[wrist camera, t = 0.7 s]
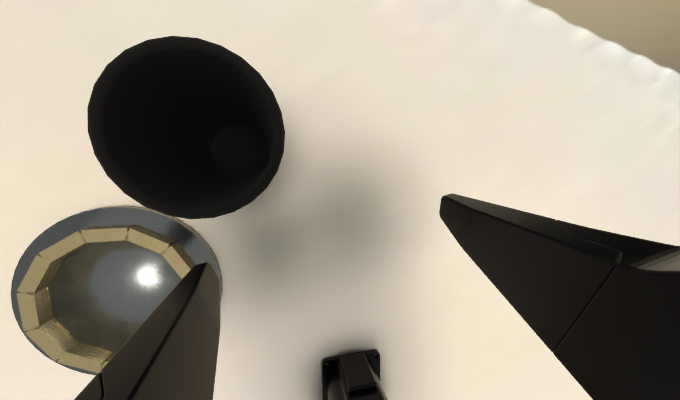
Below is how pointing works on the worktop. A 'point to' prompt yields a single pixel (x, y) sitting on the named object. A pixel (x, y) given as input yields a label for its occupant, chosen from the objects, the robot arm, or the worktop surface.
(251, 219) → the worktop surface
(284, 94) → the worktop surface
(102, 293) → the flange plate
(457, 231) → the robot arm
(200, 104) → the cup
